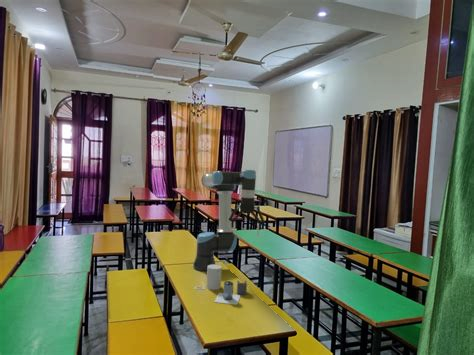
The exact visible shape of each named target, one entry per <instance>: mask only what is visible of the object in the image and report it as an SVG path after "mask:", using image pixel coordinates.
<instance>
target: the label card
mask: <svg viewBox="0 0 474 355" xmlns="http://www.w3.org/2000/svg"><path fill="white" fill-rule="evenodd" d="M204 289H205V287H204V286H203V287H202V286H195V287H194V290H201V291H202V290H204Z"/></svg>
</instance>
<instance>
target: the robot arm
mask: <svg viewBox="0 0 474 355" xmlns="http://www.w3.org/2000/svg"><path fill="white" fill-rule="evenodd" d="M256 174H257V172H256V170H254V169H243V170H242V171H239V172H238V171H221V170H218V171H217V170H215V171H213V172H208V173H207V172H206V173H205V174H203V175H202V177H201V181H200V182H201V184H202V185H203V187H204V188H206V189H208V190H209V189H210V190H216V193H217V194H218V229H217V231H216V233H215V232H214V231H211V232H210V231H204V232H201V233H199V234H197V239H196V256H195V259H194V261H193V266H192V268H193V269H194V270H196V271H200V272H207V266H208V265H212V264H215V265H217V264H216V261H215V260H216V259H215V257H214V256H215V255H214V254H215V253H222V252H227V253H229V252H233V251H234V250H235V249H236V246H237V243H238V242H237V241H238V238H237V235H236V234H235V233H236V220H237V218H239V217H240V216H241V215H242V213H243V214H244V215H245V214H247V215H250V214H251V215H252V217H253V218H254V219H255V220H256V221H257V230H256V236H257V237H259V235H260V234H259V233H260V231H261V230H262V224H265V219H264V217H263V215H262V212H261V209H260V206H259V205H257V206H255V196H256V179H257V175H256ZM237 186H241V196H240V197H241V198H240V205H239V204H235V205H234V210H233V211H232V194H233V193H234V191H235V190H236V188H237ZM239 209H240V211H239V213H237V210H239ZM254 210H256V211H257V214H258V216H259V217H260V218H259V217H258V216H257V214H256V213H255V211H254ZM236 213H237V214H236ZM235 214H236V215H235ZM234 216H235V217H234ZM233 217H234V218H233ZM232 228H233V229H232Z"/></svg>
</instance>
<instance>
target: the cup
mask: <svg viewBox="0 0 474 355" xmlns="http://www.w3.org/2000/svg"><path fill="white" fill-rule="evenodd" d="M222 268H223V267H222V265H220V264H216V265H215V264H212V265H208V266H207V271H206V289H208V290H210V291H217V290H219V289H221V286H222Z"/></svg>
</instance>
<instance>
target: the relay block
mask: <svg viewBox="0 0 474 355" xmlns="http://www.w3.org/2000/svg"><path fill="white" fill-rule="evenodd" d="M236 282H237V284H236V295H241V296H247V283H248V282H247V280H237V281H236Z"/></svg>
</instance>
